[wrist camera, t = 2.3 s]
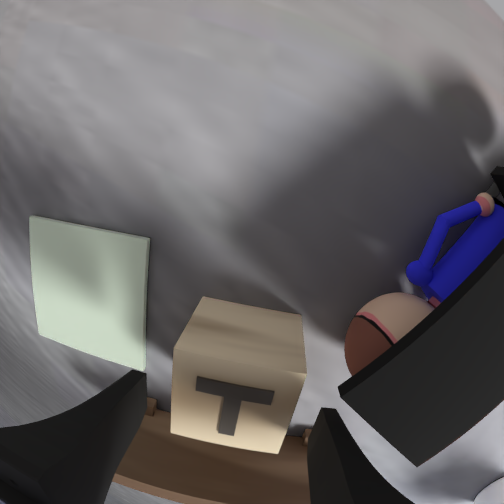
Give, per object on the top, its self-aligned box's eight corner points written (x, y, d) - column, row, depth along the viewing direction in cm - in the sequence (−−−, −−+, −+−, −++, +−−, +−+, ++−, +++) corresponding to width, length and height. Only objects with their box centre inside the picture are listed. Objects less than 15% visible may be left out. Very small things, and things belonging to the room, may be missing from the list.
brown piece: (310, 456, 19) (313, 526, 13) (141, 423, 19) (109, 486, 14) (323, 430, 18) (330, 505, 12) (139, 394, 19) (101, 460, 13)
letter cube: (280, 388, 17) (277, 456, 13) (194, 372, 18) (169, 434, 13) (301, 314, 16) (307, 376, 11) (203, 295, 16) (172, 350, 11)
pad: (145, 367, 18) (143, 371, 17) (42, 331, 18) (39, 334, 18) (150, 238, 16) (147, 239, 15) (33, 215, 16) (29, 216, 15)
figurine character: (488, 124, 14) (302, 315, 16) (587, 109, 6) (338, 414, 8) (534, 214, 15) (376, 388, 17) (622, 233, 7) (427, 482, 9)
